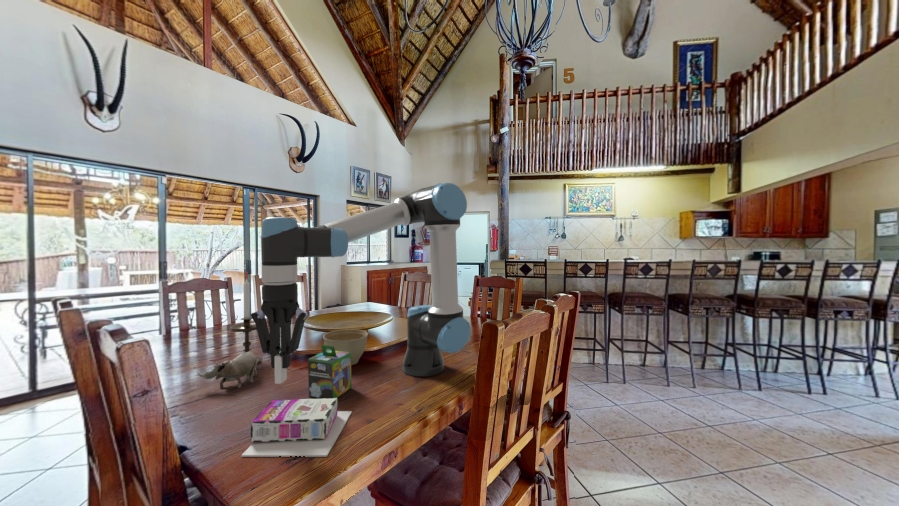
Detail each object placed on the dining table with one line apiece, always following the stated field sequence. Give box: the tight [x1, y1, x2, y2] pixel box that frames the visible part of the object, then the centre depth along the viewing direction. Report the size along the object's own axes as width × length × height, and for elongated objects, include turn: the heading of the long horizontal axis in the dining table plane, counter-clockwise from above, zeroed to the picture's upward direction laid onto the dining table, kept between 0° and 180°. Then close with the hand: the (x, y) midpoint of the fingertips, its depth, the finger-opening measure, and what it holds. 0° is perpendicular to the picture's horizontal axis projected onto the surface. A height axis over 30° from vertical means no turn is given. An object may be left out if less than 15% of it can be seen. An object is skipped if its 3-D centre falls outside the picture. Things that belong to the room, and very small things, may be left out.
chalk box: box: [307, 344, 353, 399], centre depth 98 cm, size 9×9×15 cm
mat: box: [241, 410, 353, 458], centre depth 77 cm, size 18×18×1 cm
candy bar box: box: [250, 398, 338, 444], centre depth 78 cm, size 11×5×16 cm
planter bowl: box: [322, 328, 369, 366], centre depth 123 cm, size 16×16×11 cm
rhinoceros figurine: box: [197, 351, 259, 389], centre depth 104 cm, size 8×14×15 cm
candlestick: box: [228, 270, 262, 365], centre depth 121 cm, size 11×11×35 cm
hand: (280, 381), depth 77 cm, fingers closed
